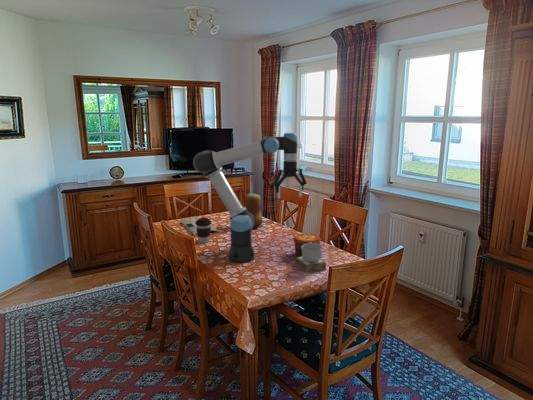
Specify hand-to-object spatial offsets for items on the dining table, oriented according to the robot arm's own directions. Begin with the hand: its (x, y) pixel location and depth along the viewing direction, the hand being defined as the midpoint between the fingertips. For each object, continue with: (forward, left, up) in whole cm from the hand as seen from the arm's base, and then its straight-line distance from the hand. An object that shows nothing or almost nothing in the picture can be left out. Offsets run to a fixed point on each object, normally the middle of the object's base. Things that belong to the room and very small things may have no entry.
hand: (289, 197), depth 214 cm
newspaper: (-42, +66, -34) cm, 85 cm away
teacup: (+2, -27, -29) cm, 39 cm away
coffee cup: (-45, +33, -33) cm, 65 cm away
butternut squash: (-6, +52, -33) cm, 62 cm away
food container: (+7, -10, -33) cm, 35 cm away
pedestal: (+1, -27, -33) cm, 42 cm away
